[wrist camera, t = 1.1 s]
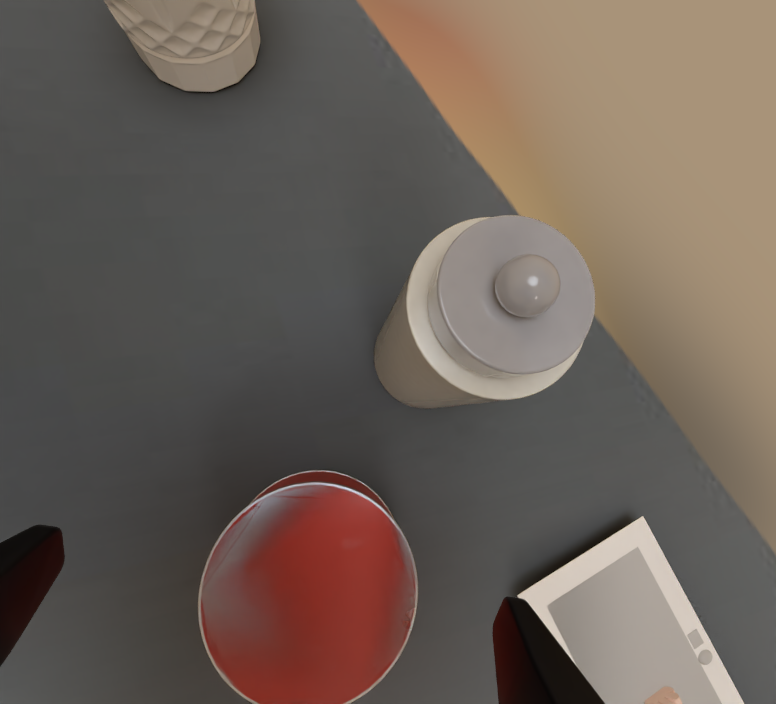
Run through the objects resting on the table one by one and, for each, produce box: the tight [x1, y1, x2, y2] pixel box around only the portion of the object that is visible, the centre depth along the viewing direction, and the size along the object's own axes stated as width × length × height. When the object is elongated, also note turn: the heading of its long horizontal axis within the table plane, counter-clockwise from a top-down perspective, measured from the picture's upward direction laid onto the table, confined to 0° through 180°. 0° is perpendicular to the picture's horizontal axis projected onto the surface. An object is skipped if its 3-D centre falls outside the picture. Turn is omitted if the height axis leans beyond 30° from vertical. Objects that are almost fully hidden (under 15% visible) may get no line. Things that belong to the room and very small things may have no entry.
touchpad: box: [517, 516, 744, 704], centre depth 21 cm, size 8×15×2 cm, turn 27°
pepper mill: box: [374, 215, 595, 409], centre depth 17 cm, size 6×6×14 cm
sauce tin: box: [198, 470, 418, 704], centre depth 19 cm, size 8×8×5 cm
